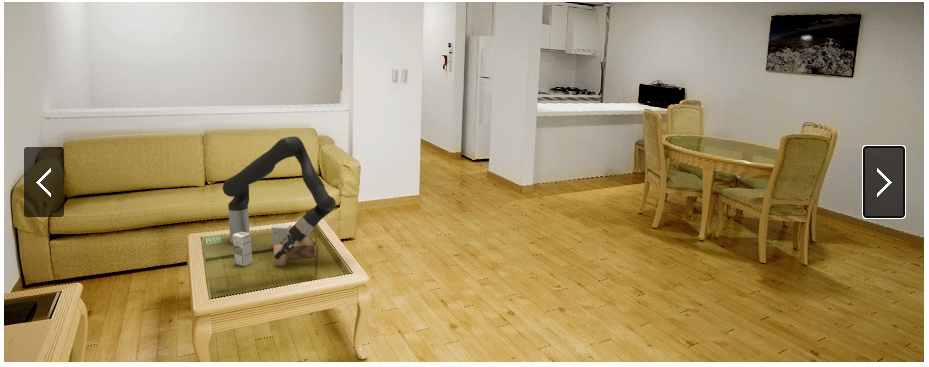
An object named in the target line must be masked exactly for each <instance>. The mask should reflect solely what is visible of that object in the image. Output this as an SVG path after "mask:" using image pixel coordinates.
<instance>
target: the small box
mask: <svg viewBox="0 0 929 367" xmlns="http://www.w3.org/2000/svg"><path fill="white" fill-rule="evenodd" d="M291 228H292V225H291V224H278V223H276V224H274V225H273V226H272V227H271V236H272V237H271V238H272V240H271V241H272V248H274V245H276V244H280V243H281V242H282V241H283V239H284V238H285V237H286V236H287V235H288V234H289V230H290V229H291ZM289 235H290V234H289Z"/></svg>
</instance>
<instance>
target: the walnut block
mask: <svg viewBox="0 0 929 367" xmlns="http://www.w3.org/2000/svg"><path fill="white" fill-rule="evenodd" d="M315 256H316V254H315V243H314V240H313V237H312V236H306V237H305V238H304V239H303V240H302V241H301V242H299V241H296V242H295V244H294V247H293V248H292V249H291V250H290V251H289V252H287V258H288V260H289V259H290V260H291V259H292V260H293V259H301V258H302V259H303V258H304V259H305V258H313V257H315Z"/></svg>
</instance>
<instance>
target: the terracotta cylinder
mask: <svg viewBox="0 0 929 367" xmlns="http://www.w3.org/2000/svg"><path fill="white" fill-rule="evenodd" d="M282 245H283V244H276V245H274V247H273V261H274V263H273V264H274V266H275V267H283V266H285V265H287V262H286V261H287V260H286V259H287V258H286V257H287V256H286V254H283V255H282V256H281V257H280V258H279V259H278V260H277V259H276V258H274V256H275V255H276V254H277V253H278V252H279V251H280V249H281V248H282ZM285 250H286V249H284V251H285Z"/></svg>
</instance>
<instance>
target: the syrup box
mask: <svg viewBox="0 0 929 367" xmlns="http://www.w3.org/2000/svg"><path fill="white" fill-rule="evenodd" d="M251 239H252V238H251V233H245V232H238V233H236V234H234V235H233V243H232V244H233V247H232V248H233V258H234V265H235V266H241V267H246V266H248V265H252V263H253V254H252V253H253V251H252V240H251Z"/></svg>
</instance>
